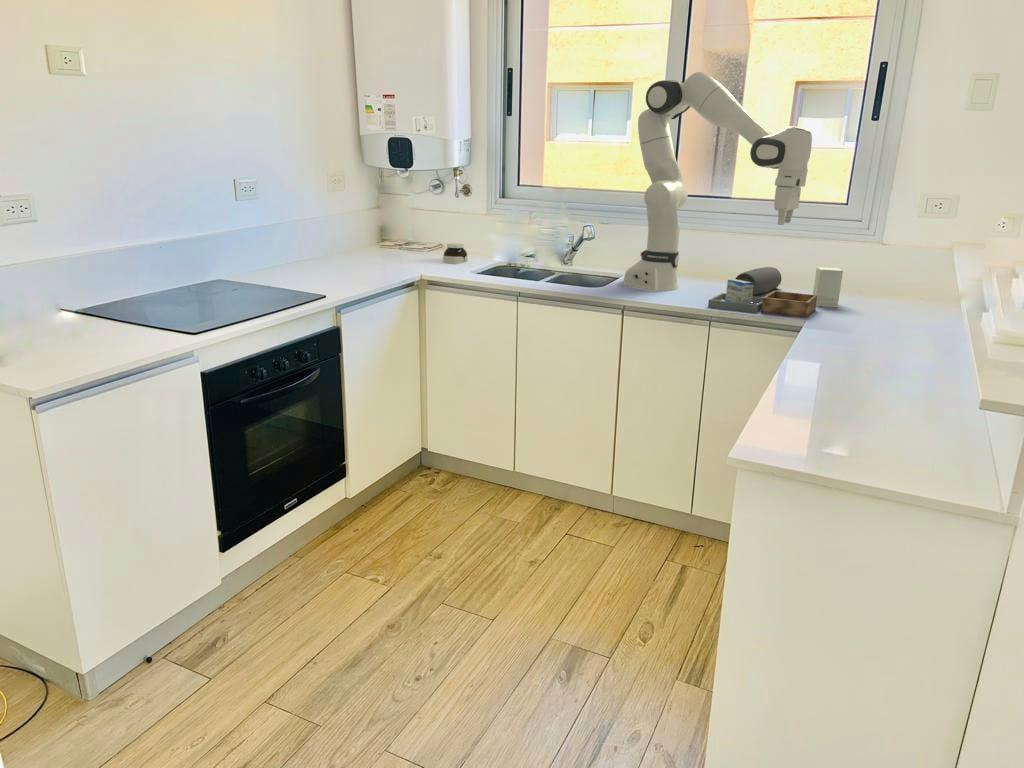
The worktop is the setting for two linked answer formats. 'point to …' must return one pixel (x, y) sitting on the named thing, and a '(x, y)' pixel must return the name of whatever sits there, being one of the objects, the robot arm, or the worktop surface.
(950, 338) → the worktop surface
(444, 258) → the spread jar
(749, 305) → the tray
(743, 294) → the medicine box
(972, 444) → the worktop surface
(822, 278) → the supplement box
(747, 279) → the bluetooth speaker
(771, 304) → the walnut crate
